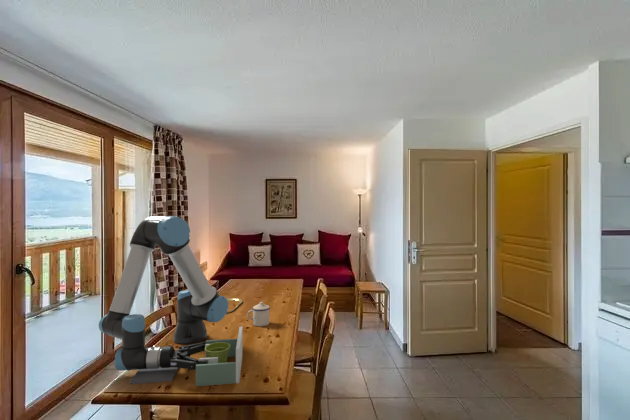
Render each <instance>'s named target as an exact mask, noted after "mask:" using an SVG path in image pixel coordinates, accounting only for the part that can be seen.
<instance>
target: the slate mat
mask: <svg viewBox="0 0 630 420" xmlns="http://www.w3.org/2000/svg"><path fill="white" fill-rule="evenodd" d="M178 371H179V368H177V367H170V368H161V367H160V368H158V369H138V370H136V373H135V374H134V375H133V376H132V378H131V379H130V381H129V384H130V385H136V384H150V383H153V384H154V383H164V382H173V380H174V378H175V376H176V374H177V372H178Z"/></svg>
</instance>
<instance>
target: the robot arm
mask: <svg viewBox="0 0 630 420" xmlns="http://www.w3.org/2000/svg"><path fill="white" fill-rule="evenodd" d="M190 233H191V229H190V226H189V224H188V222H187V221H186V220H185V219H184V218H182V217H180V216H175V215H167V216H163V215H162V216H161V215H160V216H159V215H152V216H151V215H150V216H148V217H146V218H144V219H143V220H142V221H141V222H140V223H139V224H138V225H137V227H136V229H135V230H134V232H133V234H132V237H131V240H130V242H129V247H130V250H129V253H128V256H127V259H126V262H125V264H124V268H123V270H122V273H121V276H120V279H119V282H118V285H117V287H116V290H115V293H114V296H113V298H112V301H111V304H110V307H109V310H108V312H107V314H105V315H103V316H102V317H101V318H100V320H99V322H98V329H99V331H100V332H101V333H102V334H105V335H106V336H109V337H113V338H115V339H119V340H121V348H119V349H118V350H117V351H116V352H115V354H114V355H115V356H114V362H113V364H114V368H115V369H116V370H117V371H135V370H136V371H138V370H139V369H158V368H160V367H161V368H170V367H177V368H178V369H183V370H188V371H196V364H211V363H218V357H212V358H206V357H201V358H194V357H191V356H193V355H195V354H199V353H201V352H205V353H206V351H205V347H206V346H207V345H209V344H206V341H204V340H205V339H207V337H208V329H207V327H206V325H205V321H207V322H209V323H219V322H221V321H222V320H223V319H224V318H225V316H226V314H228V313H227V312H228V310H229V300H227V299H226V298H227V297H226V296H224V295H220V293H219V292H218V290H217V288H216V287H215V286H212V285H210V283H209V281H208V279H207V277H206V276H205V274H204V272H203V270H202V268H201V266H200V264H199V263H198V260H197V258H196V256H195V255H194V253H193V251H192V249H191V247H190V246H189V245H190V242H191V239H190V236H191V234H190ZM156 246H158V248H159V249H160V251H161V253H162V254H163V255H166V256H169V258H170V261H171V262H172V263H173V266H174V267H175V269H176V271H177V272H178V274H179V275H180V277H181V279H182V281H183V283H184V285H185V286H186V288H187V289H184V290H180V291H178V293H177V297H176V298H177V299H176V301H177V302H176V304H177V305H176V306H177V308H176V309H177V312H176V313H177V314H176V315H177V317H176V318H177V324H176V325H175V326H176V327H175V330H174V333H173V338H172V339H173V342H174V343H177V344H181V345H180V346H178V349H175V347H174V346H173V345H167V346H163V347H162V346H155V345H153V346H148V347H147V346H146V319H145V315H144V314H140V313H138V314H137V313H134V314H131V311H132V308H133V306H134V303H135V299H136V296H137V294H138V290H139V287H140V285H141V282H142V279H143V277H144V273H145V270H146V267H147V265H148V261H149V258H150V256H151V253H153V252H154V251H155V250H156ZM182 344H185V345H182Z"/></svg>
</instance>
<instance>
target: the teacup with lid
mask: <svg viewBox="0 0 630 420" xmlns="http://www.w3.org/2000/svg"><path fill="white" fill-rule="evenodd" d="M270 309H271V308H270V305H268V304H265V303H264V302H263V301H260V302H259V303H258V304H256V305H254V306H253V307H252V309H250V310H248V311H247V318H248V319H249V320H252V323H253V324H252V325H253V326H255V327H266V326H269V324H270ZM250 313H252V317H251V316H250Z"/></svg>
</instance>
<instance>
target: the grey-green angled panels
mask: <svg viewBox="0 0 630 420" xmlns="http://www.w3.org/2000/svg"><path fill="white" fill-rule="evenodd" d="M243 328H244V327H243V326H239V329H238V334H237V338H227V339H226V338H224V339H209V340H208V339H207V340H205V344H212V343H217V342H225V343H228V344H230V348H229V352H228V357H227V358H235V361H231V362H228V361H227V363H211V364H196V370H195V387H202V386H203V387H205V386H215V385H217V386H219V385H230V384H240V379H241V371H242V363H243V340H244V339H243ZM205 358H208V357H207V353H206V352H205Z"/></svg>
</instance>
